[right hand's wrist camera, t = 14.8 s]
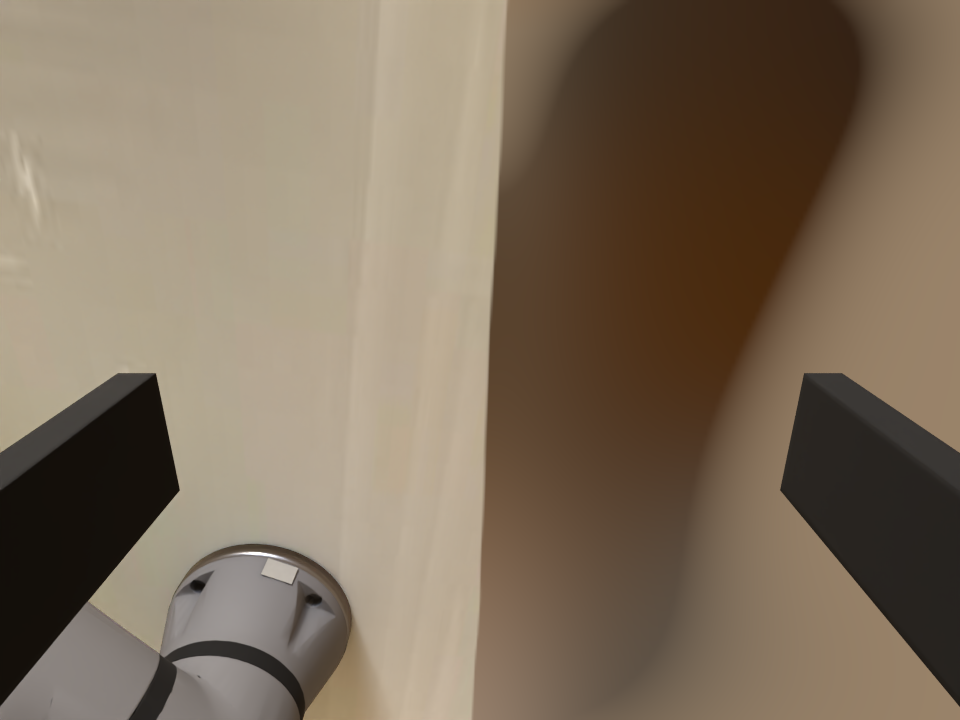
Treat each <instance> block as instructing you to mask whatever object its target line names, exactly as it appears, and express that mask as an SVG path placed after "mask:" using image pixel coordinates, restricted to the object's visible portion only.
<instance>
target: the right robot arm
mask: <svg viewBox="0 0 960 720" xmlns="http://www.w3.org/2000/svg"><path fill="white" fill-rule="evenodd" d="M780 490H781V492H782V493H783V494H784V495H785V497H786V498H787V499H788V500H789V501H790V503H791V504H792V505H793V506H794V507H795V509H796V510H797V511H798V512H799V513H800V515H801V516H802V517H803V518H804V519H805V521H806V522H807V523H808V524H809V526H810V527H811V528H812V529H813V530H814V532H815V533H816V534H817V535H818V536H819V538H820V539H821V540H822V541H823V542H824V544H825V545H826V546H827V547H828V548H829V550H830V551H831V552H832V553H833V554H834V556H835V557H836V558H837V559H838V560H839V562H840V563H841V564H842V565H843V567H844V568H845V569H846V570H847V571H848V573H849V574H850V575H851V576H852V577H853V579H854V580H855V581H856V582H857V583H858V585H859V586H860V587H861V588H862V589H863V591H864V592H865V593H866V594H867V595H868V597H869V598H870V599H871V600H872V601H873V603H874V604H875V605H876V606H877V607H878V609H879V610H880V611H881V612H882V613H883V615H884V616H885V617H886V618H887V620H888V621H889V622H890V623H891V624H892V626H893V627H894V628H895V629H896V630H897V632H898V633H899V634H900V635H901V636H902V638H903V639H904V640H905V641H906V642H907V644H908V645H909V646H910V647H911V648H912V650H913V651H914V652H915V653H916V654H917V656H918V657H919V658H920V659H921V661H922V662H923V663H924V664H925V665H926V667H927V668H928V669H929V670H930V671H931V672H932V674H933V675H934V676H935V677H936V679H937V680H938V681H939V682H940V683H941V685H942V686H943V687H944V688H945V689H946V691H947V692H948V693H949V694H950V695H951V697H952V698H953V699H954V700H955V701H956V703H957V704H958V705H959V706H960V453H959V452H957V451H956V450H955V449H953V448H952V447H950V446H949V445H947V444H946V443H944V442H943V441H941V440H940V439H938V438H937V437H935V436H934V435H932V434H931V433H929V432H928V431H926V430H925V429H923V428H922V427H921V426H919V425H917V424H916V423H915V422H913V421H912V420H910V419H909V418H907V417H906V416H904V415H903V414H901V413H900V412H898V411H897V410H895V409H894V408H892V407H891V406H890V405H888V404H886V403H885V402H884V401H882V400H881V399H879V398H878V397H876V396H875V395H873V394H872V393H870V392H869V391H867V390H866V389H864V388H863V387H861V386H860V385H858V384H857V383H856V382H854V381H853V380H851V379H850V378H848V377H847V376H845V375H844V374H842V373H804V377H803V382H802V387H801V391H800V396H799V401H798V406H797V411H796V416H795V421H794V425H793V430H792V435H791V440H790V445H789V450H788V455H787V460H786V464H785V469H784V474H783V479H782V484H781V489H780ZM179 491H180V489H179V484H178V479H177V474H176V469H175V464H174V460H173V455H172V450H171V445H170V440H169V435H168V430H167V425H166V421H165V416H164V411H163V406H162V401H161V396H160V391H159V386H158V382H157V377H156V373H118V374H116V375H115V376H113V377H112V378H110V379H109V380H107V381H106V382H104V383H103V384H102V385H100V386H99V387H97V388H96V389H94V390H93V391H91V392H90V393H88V394H87V395H85V396H84V397H82V398H81V399H79V400H78V401H76V402H75V403H73V404H72V405H70V406H69V407H68V408H66V409H65V410H63V411H62V412H60V413H59V414H57V415H56V416H54V417H53V418H51V419H50V420H48V421H47V422H45V423H44V424H42V425H41V426H39V427H38V428H37V429H35V430H34V431H32V432H31V433H29V434H28V435H26V436H25V437H23V438H22V439H20V440H19V441H17V442H16V443H14V444H13V445H11V446H10V447H8V448H7V449H5V450H4V451H3V452H1V453H0V720H303V717H304V714H305V711H306V710H307V708H308V707H309V706H310V704H311V703H312V701H313V700H314V699H315V697H316V696H317V694H318V693H319V692H320V690H321V689H322V687H323V686H324V685H325V683H326V682H327V680H328V679H329V678H330V676H331V675H332V673H333V672H334V671H335V669H336V668H337V666H338V664H339V663H340V660H341V659H342V657H343V655H344V652H345V650H346V646H347V643H348V639H349V635H350V631H351V611H350V606H349V603H348V600H347V598H346V596H345V594H344V592H343V590H342V588H341V587H340V585H339V584H338V583H337V581H336V580H335V579H334V578H333V577H332V576H331V575H330V574H329V573H328V572H327V571H326V570H325V569H324V568H322V567H321V566H320V565H318V564H317V563H315V562H314V561H312V560H311V559H309V558H307V557H305V556H303V555H301V554H298V553H296V552H294V551H291V550H288V549H284V548H280V547H276V546H270V545H261V544H246V545H237V546H231V547H228V548H224V549H221V550H218V551H216V552H213V553H211V554H209V555H208V556H206V557H204V558H203V559H201V560H200V561H199V562H197V563H196V564H195V565H194V566H193V567H192V568H191V569H190V570H189V572H188V573H187V574H186V576H185V577H184V579H183V580H182V582H181V583H180V585H179V586H178V588H177V590H176V591H175V593H174V595H173V598H172V601H171V603H170V606H169V610H168V614H167V619H166V625H165V630H164V635H163V640H162V645H161V650H160V654H159V653H158V652H156V651H155V650H154V649H152V648H151V647H149V646H148V645H147V644H145V643H144V642H142V641H141V640H140V639H138V638H137V637H135V636H134V635H133V634H131V633H130V632H128V631H127V630H126V629H124V628H123V627H122V626H120V625H119V624H118V623H116V622H115V621H114V620H112V619H111V618H109V617H108V616H107V615H105V614H104V613H103V612H101V611H100V610H99V609H97V608H96V607H95V606H93V605H92V604H91V603H89V602H88V600H89V599H90V598H91V597H92V595H93V594H94V593H95V592H96V591H97V589H98V588H99V587H100V586H101V585H102V583H103V582H104V581H105V580H106V579H107V577H108V576H109V575H110V574H111V573H112V571H113V570H114V569H115V568H116V567H117V565H118V564H119V563H120V562H121V560H122V559H123V558H124V557H125V556H126V554H127V553H128V552H129V551H130V550H131V548H132V547H133V546H134V545H135V544H136V542H137V541H138V540H139V539H140V538H141V536H142V535H143V534H144V533H145V532H146V530H147V529H148V528H149V527H150V526H151V524H152V523H153V522H154V521H155V519H156V518H157V517H158V516H159V515H160V513H161V512H162V511H163V510H164V509H165V507H166V506H167V505H168V504H169V503H170V501H171V500H172V499H173V498H174V497H175V495H176V494H177V493H178V492H179Z"/></svg>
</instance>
